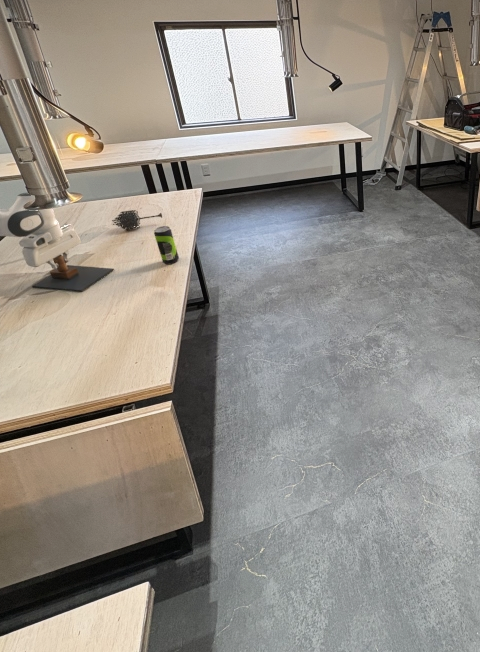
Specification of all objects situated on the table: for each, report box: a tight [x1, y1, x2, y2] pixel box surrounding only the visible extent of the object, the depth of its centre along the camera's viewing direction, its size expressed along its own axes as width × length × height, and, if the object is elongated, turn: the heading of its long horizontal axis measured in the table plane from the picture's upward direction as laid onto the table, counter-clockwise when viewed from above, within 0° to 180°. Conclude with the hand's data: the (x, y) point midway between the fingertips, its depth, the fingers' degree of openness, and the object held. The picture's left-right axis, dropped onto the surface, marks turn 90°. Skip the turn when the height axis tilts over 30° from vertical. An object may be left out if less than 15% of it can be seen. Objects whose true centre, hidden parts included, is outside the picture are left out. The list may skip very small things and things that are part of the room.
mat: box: [31, 264, 115, 293], centre depth 162 cm, size 22×16×1 cm
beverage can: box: [153, 225, 180, 265], centre depth 170 cm, size 6×6×15 cm
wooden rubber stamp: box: [49, 254, 79, 280], centre depth 160 cm, size 8×4×9 cm, turn 77°
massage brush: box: [111, 209, 163, 231], centre depth 203 cm, size 9×22×9 cm, turn 113°
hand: (61, 265), depth 160 cm, fingers closed on wooden rubber stamp, 3 cm apart
